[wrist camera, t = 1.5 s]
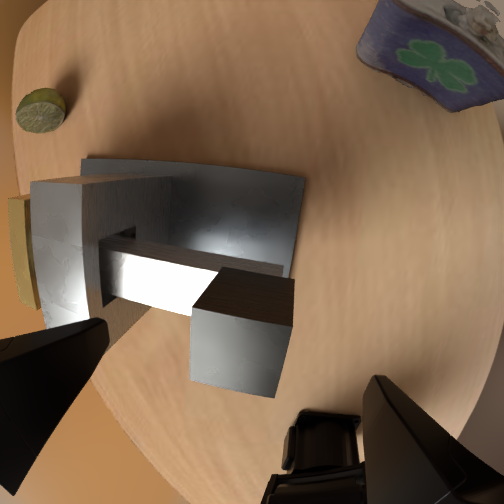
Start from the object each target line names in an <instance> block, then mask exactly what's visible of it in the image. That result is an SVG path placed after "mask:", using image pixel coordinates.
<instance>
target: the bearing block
mask: <svg viewBox="0 0 504 504" xmlns="http://www.w3.org/2000/svg"><path fill="white" fill-rule="evenodd" d="M304 183H305V178H304V177H298V176H292V175H286V174H279V173H273V172H266V171H258V170H251V169H243V168H235V167H226V166H217V165H207V164H196V163H184V162H170V161H154V160H132V159H82V160H81V174H80V176H73V177H64V178H55V179H47V180H39V181H32V182H31V183H30V211H31V233H32V246H33V256H34V264H35V272H36V279H37V285H38V291H39V297H40V302H41V307H42V312H43V316H44V321H45V325H46V329H49V328H53V327H58V326H62V325H66V324H70V323H74V322H78V321H82V320H86V319H90V318H94V317H99V318H101V319H104V320H106V321H107V323H108V329H109V336H110V343H109V346H108V348H107V350H106V351H105V353H106V352H107V351H108V350H109V349H110V348H111V347H112V346H113V345H114V344H115V343H116V342H117V341H118V340H119V339H120V338H121V337H122V336H123V335H124V334H125V333H126V332H127V331H128V330H129V329H130V328H131V327H132V326H133V325H134V324H135V323H136V322H137V321H138V320H139V319H140V318H141V317H142V316H143V315H144V314H145V313H146V312H147V311H148V310H149V309H150V308H151V307H152V306H150V305H147V304H143V303H139V302H136V301H132V300H129V299H125V298H122V297H118V296H115V295H112V294H108V293H105V292H102V291H101V285H100V271H99V250H98V240H100V239H103V238H105V237H108V236H110V235H117V236H123V237H128V238H133V239H139V240H144V241H150V242H155V243H161V244H166V245H172V246H177V247H183V248H188V249H194V250H199V251H205V252H210V253H216V254H222V255H227V256H233V257H239V258H244V259H250V260H256V261H261V262H267V263H273V264H279V265H284V269H283V276H282V277H285V278H288V276H289V271H290V266H291V260H292V255H293V249H294V244H295V238H296V232H297V226H298V220H299V215H300V208H301V202H302V196H303V190H304ZM105 353H104V354H105Z"/></svg>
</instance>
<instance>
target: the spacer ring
mask: <svg viewBox="0 0 504 504" xmlns="http://www.w3.org/2000/svg"><path fill="white" fill-rule="evenodd" d="M8 210H9V211H8V212H9V230H10V241H11V251H12V259H13V266H14V272H15V278H16V284H17V289H18V294H19V299H20V302H21V303H23V304H25V305H27V306H29V307H31V308H33V309H35V310H38V309H40V308H42V307H41V302H40V297H39V291H38V285H37V279H36V272H35V264H34V256H33V246H32V233H31V211H30V194H27V195H22V196H17V197H12V198H8Z"/></svg>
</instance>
